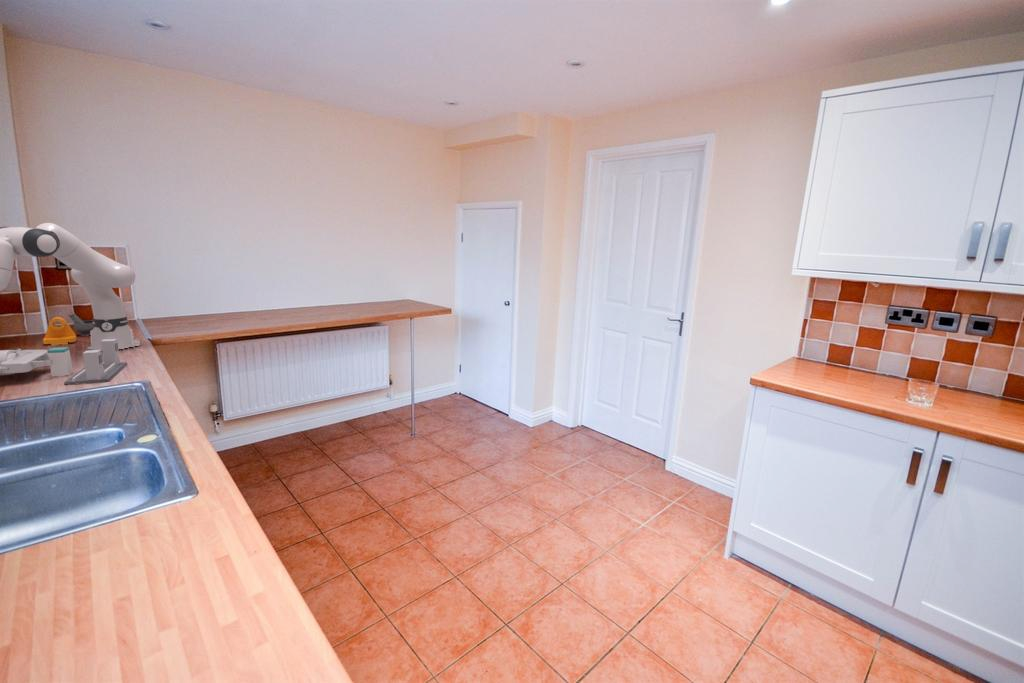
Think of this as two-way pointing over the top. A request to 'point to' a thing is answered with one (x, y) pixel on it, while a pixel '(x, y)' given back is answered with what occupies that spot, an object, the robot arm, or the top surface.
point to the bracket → (59, 333)
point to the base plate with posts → (99, 364)
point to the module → (60, 361)
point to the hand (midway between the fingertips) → (56, 359)
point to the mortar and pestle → (82, 325)
